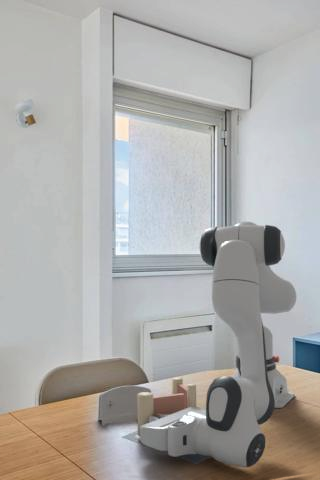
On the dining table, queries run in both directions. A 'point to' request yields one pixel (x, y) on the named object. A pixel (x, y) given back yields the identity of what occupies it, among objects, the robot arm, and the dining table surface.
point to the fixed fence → (185, 391)
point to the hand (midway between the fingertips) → (152, 418)
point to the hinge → (120, 404)
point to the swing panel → (157, 406)
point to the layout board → (189, 457)
